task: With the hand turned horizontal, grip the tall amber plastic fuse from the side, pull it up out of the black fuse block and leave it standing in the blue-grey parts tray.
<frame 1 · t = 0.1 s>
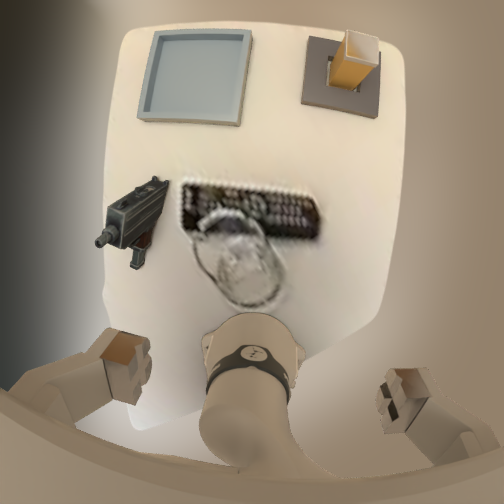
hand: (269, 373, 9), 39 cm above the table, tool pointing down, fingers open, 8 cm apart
parts tray: (197, 77, 42), on the table
fuse: (350, 63, 34), in the fuse block
fuse block: (341, 77, 41), on the table
gun: (151, 222, 49), on the table
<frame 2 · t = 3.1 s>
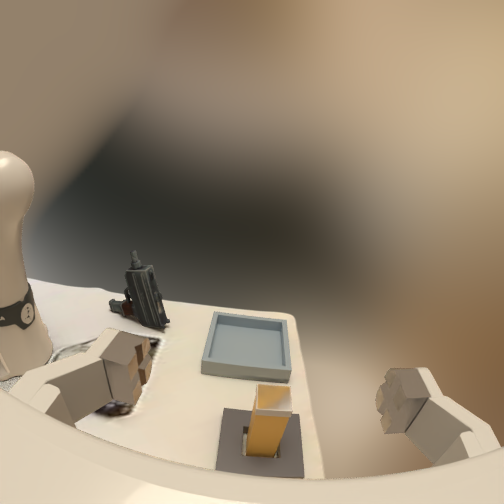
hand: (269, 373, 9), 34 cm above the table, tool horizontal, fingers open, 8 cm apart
parts tray: (246, 351, 59), on the table
fuse: (266, 426, 35), in the fuse block
fuse block: (259, 448, 38), on the table
gun: (138, 320, 63), on the table
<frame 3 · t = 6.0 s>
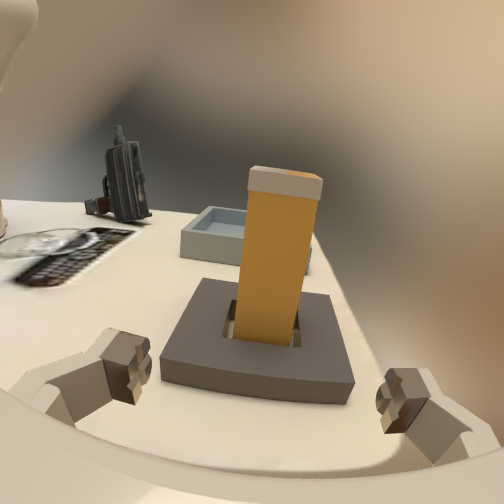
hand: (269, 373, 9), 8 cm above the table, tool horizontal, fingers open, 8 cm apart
parts tray: (248, 245, 45), on the table
fuse: (271, 266, 21), in the fuse block
fuse block: (259, 342, 23), on the table
gun: (114, 220, 50), on the table
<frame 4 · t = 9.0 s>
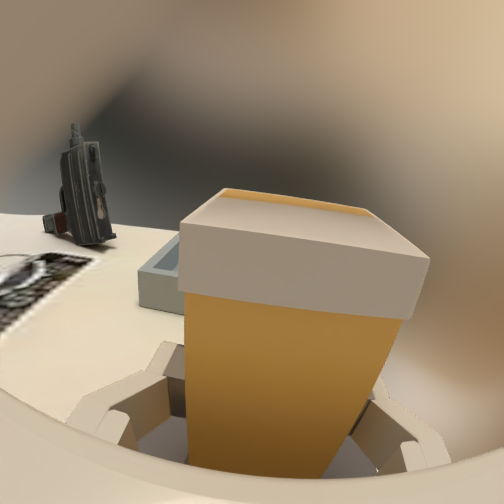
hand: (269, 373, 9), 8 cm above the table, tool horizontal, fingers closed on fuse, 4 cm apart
parts tray: (238, 282, 33), on the table
fuse: (263, 413, 9), in the fuse block, touching gripper
fuse block: (243, 489, 11), on the table
gun: (74, 241, 38), on the table
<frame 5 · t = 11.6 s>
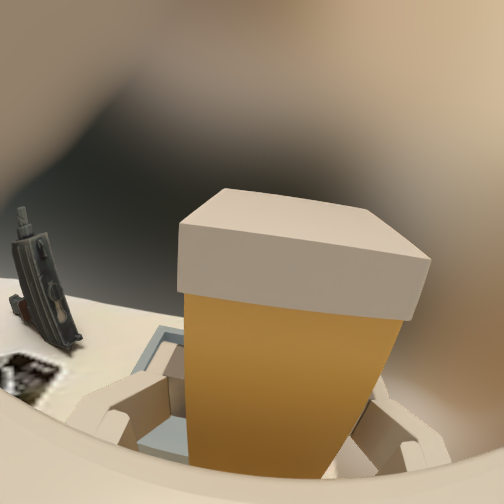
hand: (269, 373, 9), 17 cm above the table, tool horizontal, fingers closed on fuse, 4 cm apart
parts tray: (213, 410, 26), on the table
fuse: (263, 414, 9), point 16 cm above the table, touching gripper
gun: (43, 331, 32), on the table
when the fingers open (9 cm above the table, at t = 14.6 s): fuse stays where it is, resting on parts tray.
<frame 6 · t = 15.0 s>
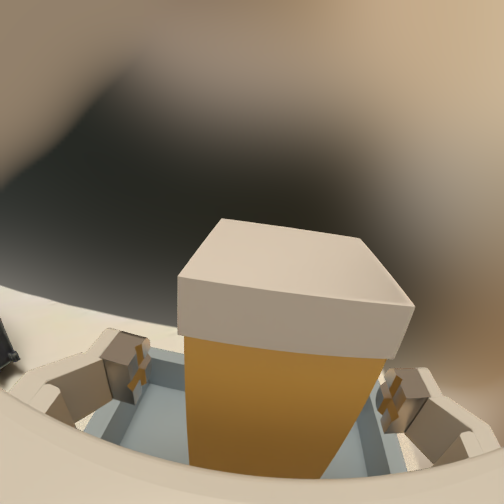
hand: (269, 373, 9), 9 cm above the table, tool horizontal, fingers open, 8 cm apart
parts tray: (239, 500, 12), on the table
fuse: (259, 429, 9), in the parts tray, point 8 cm above the table
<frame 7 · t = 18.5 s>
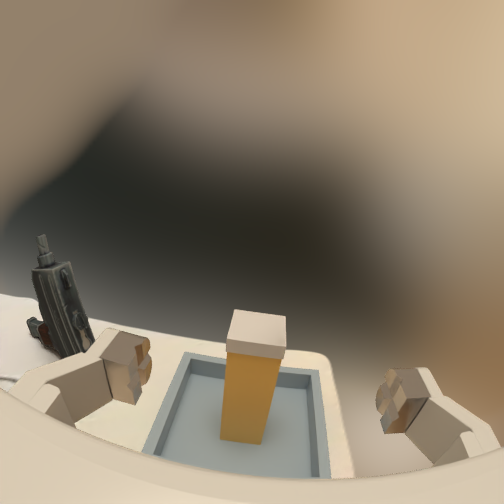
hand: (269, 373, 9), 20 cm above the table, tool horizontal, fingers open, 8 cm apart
parts tray: (241, 432, 27), on the table
fuse: (249, 386, 25), in the parts tray, point 8 cm above the table
gun: (63, 355, 33), on the table
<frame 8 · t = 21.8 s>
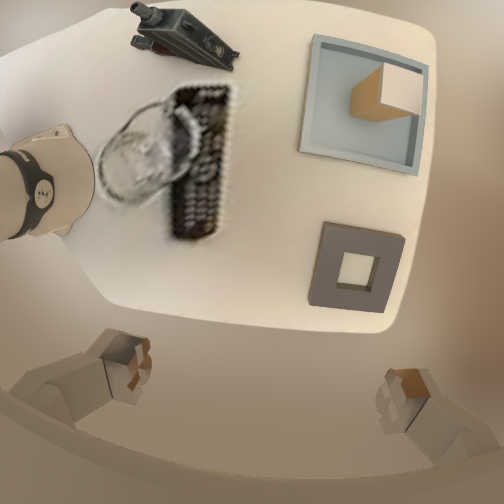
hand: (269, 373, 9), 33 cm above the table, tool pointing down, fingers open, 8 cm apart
parts tray: (363, 105, 35), on the table
fuse: (380, 97, 28), in the parts tray, point 8 cm above the table
fuse block: (354, 267, 43), on the table
gun: (186, 52, 34), on the table
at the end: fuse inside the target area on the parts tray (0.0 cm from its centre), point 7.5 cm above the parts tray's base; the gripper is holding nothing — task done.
